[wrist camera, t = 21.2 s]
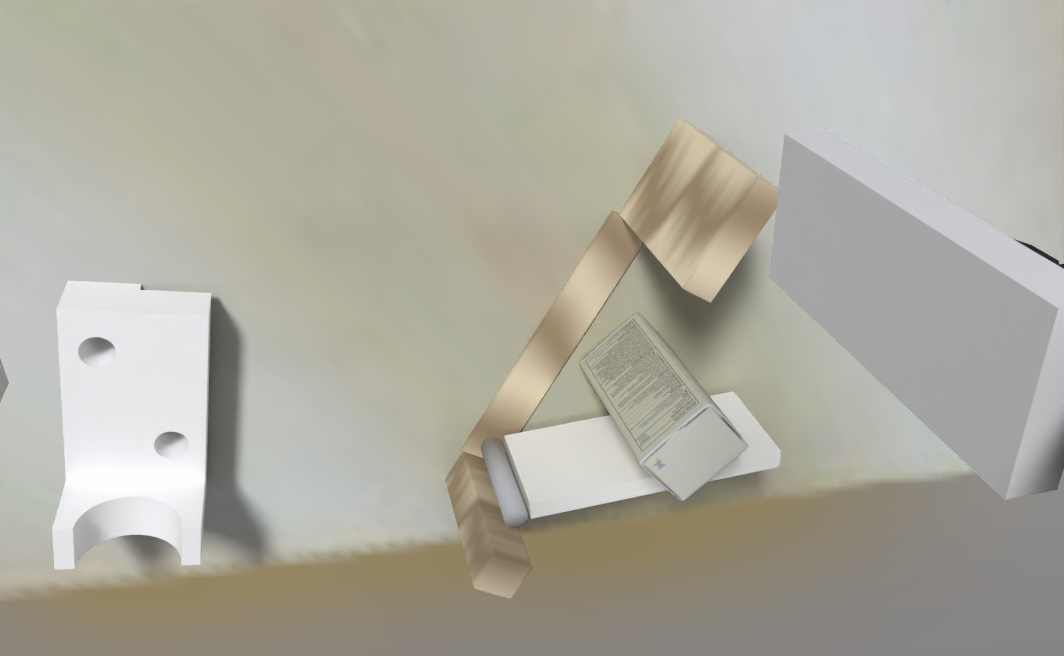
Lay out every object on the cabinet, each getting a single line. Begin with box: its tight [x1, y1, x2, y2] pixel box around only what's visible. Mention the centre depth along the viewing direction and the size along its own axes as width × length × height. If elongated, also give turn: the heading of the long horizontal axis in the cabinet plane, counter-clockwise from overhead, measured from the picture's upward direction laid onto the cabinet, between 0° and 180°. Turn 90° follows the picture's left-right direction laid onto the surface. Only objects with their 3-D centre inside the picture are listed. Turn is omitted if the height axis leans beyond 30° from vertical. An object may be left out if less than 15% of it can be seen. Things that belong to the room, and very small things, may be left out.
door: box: [481, 391, 781, 527], centre depth 59 cm, size 17×2×7 cm, turn 94°
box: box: [580, 313, 748, 501], centre depth 56 cm, size 5×4×11 cm
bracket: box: [52, 281, 211, 569], centre depth 50 cm, size 13×7×8 cm, turn 170°
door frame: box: [446, 118, 779, 599], centre depth 54 cm, size 27×3×10 cm, turn 149°
